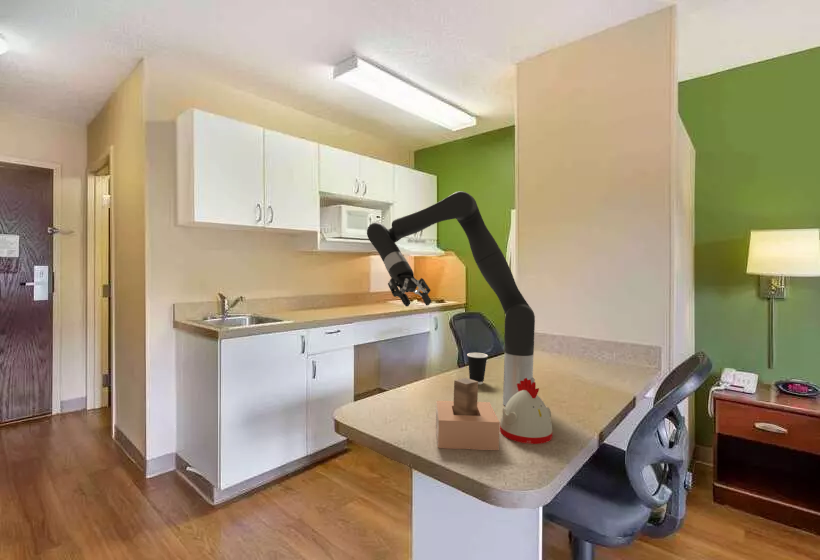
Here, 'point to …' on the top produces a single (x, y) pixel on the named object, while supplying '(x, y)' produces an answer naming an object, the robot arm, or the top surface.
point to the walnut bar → (465, 397)
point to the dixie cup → (477, 366)
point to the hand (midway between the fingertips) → (418, 304)
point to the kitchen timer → (526, 416)
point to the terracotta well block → (467, 427)
